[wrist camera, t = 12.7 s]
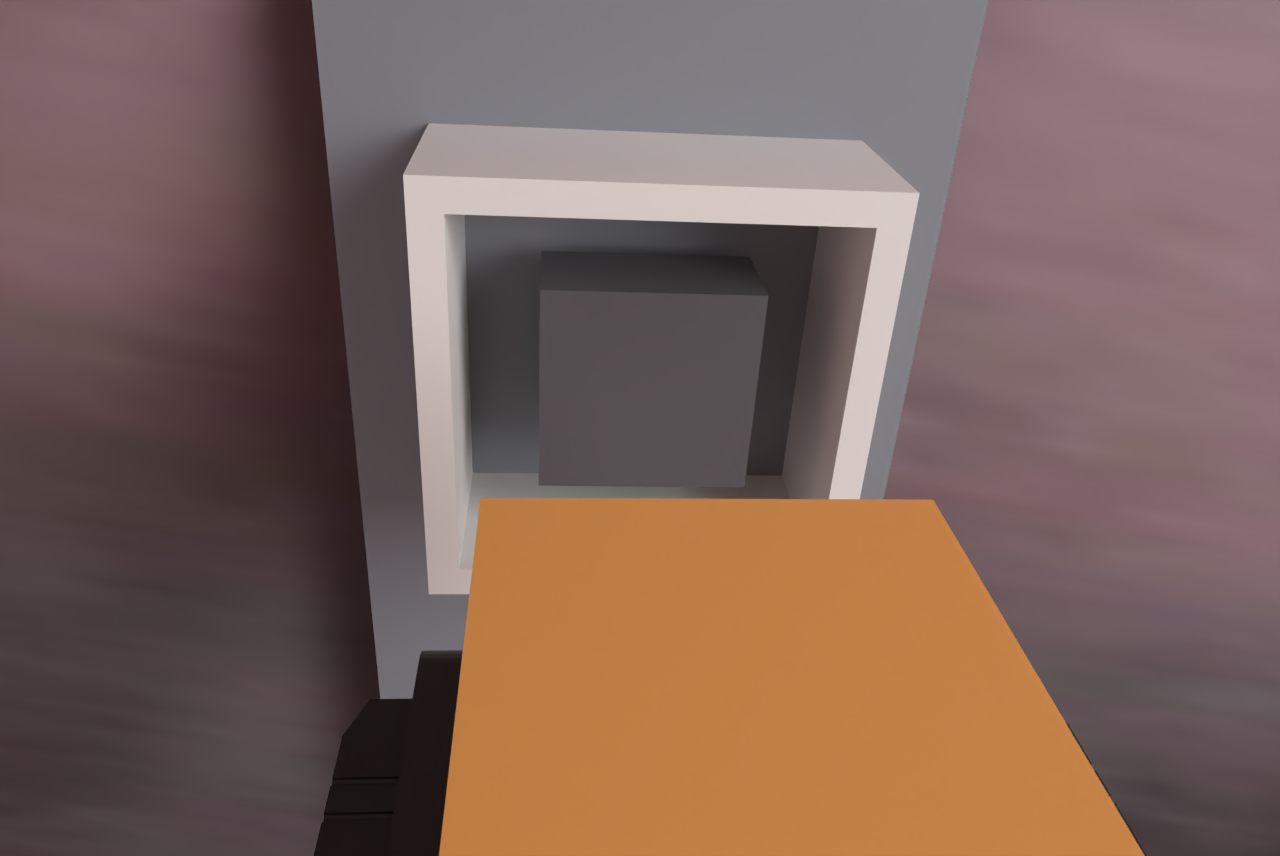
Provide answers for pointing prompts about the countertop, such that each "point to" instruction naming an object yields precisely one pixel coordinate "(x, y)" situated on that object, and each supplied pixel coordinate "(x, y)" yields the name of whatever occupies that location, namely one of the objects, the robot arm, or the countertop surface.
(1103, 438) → the countertop surface
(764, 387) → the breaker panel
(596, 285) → the button
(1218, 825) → the countertop surface
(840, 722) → the orange cube
